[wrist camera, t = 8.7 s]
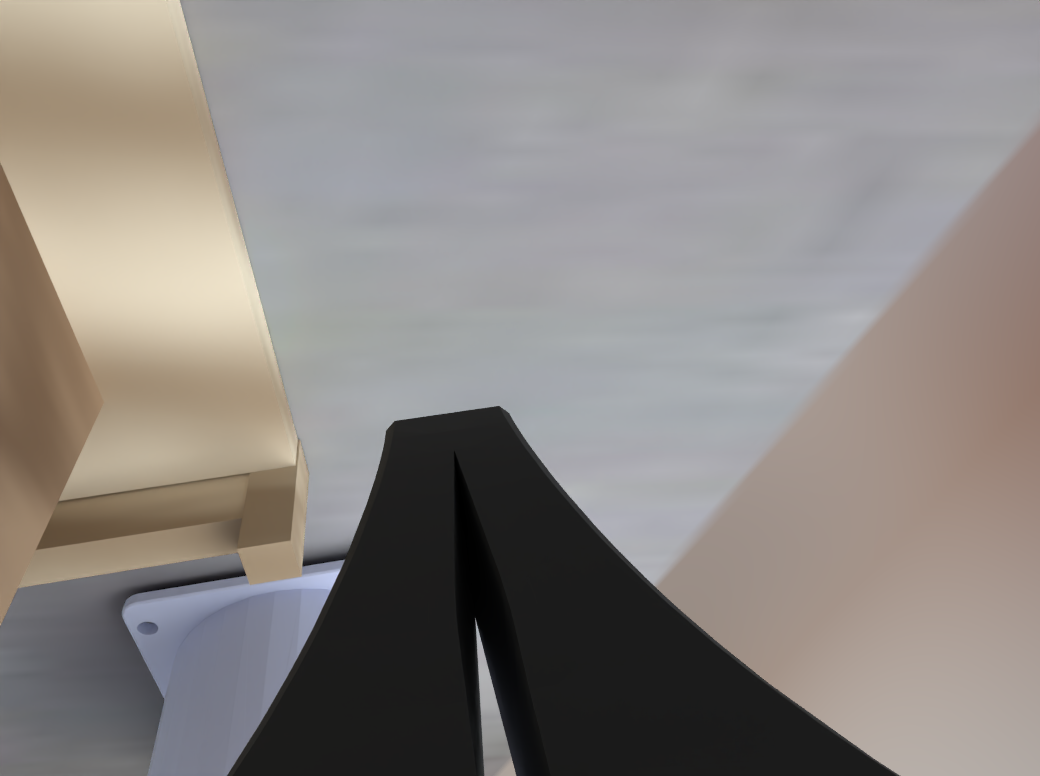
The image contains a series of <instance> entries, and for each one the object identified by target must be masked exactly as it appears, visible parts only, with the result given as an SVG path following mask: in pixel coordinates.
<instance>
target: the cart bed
mask: <svg viewBox="0 0 1040 776" xmlns="http://www.w3.org/2000/svg"><path fill="white" fill-rule="evenodd" d="M0 163H1V165H2V167H3V170H4V172H5V174H6V177H7V179H8V181H9V184H10V186H11V188H12V191H13V193H14V195H15V198H16V200H17V202H18V204H19V207H20V209H21V211H22V214H23V216H24V218H25V221H26V223H27V225H28V228H29V230H30V232H31V235H32V237H33V239H34V241H35V244H36V246H37V248H38V251H39V253H40V255H41V258H42V260H43V262H44V265H45V267H46V269H47V272H48V274H49V276H50V279H51V281H52V283H53V285H54V288H55V290H56V292H57V295H58V297H59V299H60V302H61V304H62V306H63V309H64V311H65V313H66V316H67V318H68V320H69V322H70V325H71V327H72V329H73V332H74V334H75V336H76V339H77V341H78V343H79V346H80V348H81V350H82V353H83V355H84V357H85V359H86V362H87V364H88V366H89V369H90V371H91V373H92V376H93V378H94V380H95V383H96V385H97V387H98V390H99V392H100V394H101V396H102V399H103V401H104V404H103V406H102V408H101V410H100V412H99V414H98V417H97V419H96V421H95V423H94V425H93V427H92V430H91V432H90V434H89V436H88V438H87V440H86V442H85V445H84V447H83V449H82V451H81V453H80V455H79V458H78V460H77V462H76V464H75V466H74V468H73V471H72V473H71V475H70V477H69V479H68V481H67V483H66V486H65V488H64V490H63V492H62V494H61V496H60V499H59V501H58V503H57V505H56V507H55V509H54V511H53V514H52V516H51V518H50V520H49V522H48V524H47V527H46V529H45V531H44V533H43V535H42V537H41V539H40V542H39V544H38V546H37V548H36V550H35V552H34V555H33V557H32V559H31V561H30V563H29V565H28V567H27V570H26V572H25V574H24V576H23V578H22V580H21V583H20V585H19V587H18V588H21V587H28V586H34V585H40V584H46V583H53V582H59V581H65V580H71V579H77V578H84V577H90V576H96V575H102V574H109V573H115V572H121V571H127V570H134V569H140V568H146V567H152V566H159V565H165V564H171V563H177V562H184V561H190V560H196V559H202V558H209V557H215V556H221V555H227V554H233V553H239V556H240V559H241V562H242V565H243V567H244V570H245V573H246V576H247V578H248V581H249V584H250V585H253V584H259V583H265V582H271V581H277V580H283V579H290V578H296V577H302V564H303V550H304V536H305V523H306V509H307V496H308V482H309V472H308V468H307V464H306V460H305V457H304V453H303V449H302V445H301V442H300V440H298V439H297V435H296V431H295V427H294V424H293V420H292V416H291V413H290V409H289V405H288V401H287V398H286V394H285V390H284V387H283V383H282V379H281V375H280V372H279V368H278V364H277V361H276V357H275V353H274V349H273V346H272V342H271V338H270V335H269V331H268V327H267V323H266V320H265V316H264V312H263V309H262V305H261V301H260V297H259V294H258V290H257V286H256V282H255V279H254V275H253V271H252V268H251V264H250V260H249V256H248V253H247V249H246V245H245V242H244V238H243V234H242V230H241V227H240V223H239V219H238V216H237V212H236V208H235V204H234V201H233V197H232V193H231V190H230V186H229V182H228V178H227V175H226V171H225V167H224V164H223V160H222V156H221V152H220V149H219V145H218V141H217V138H216V134H215V130H214V126H213V123H212V119H211V115H210V112H209V108H208V104H207V100H206V97H205V93H204V89H203V86H202V82H201V78H200V74H199V71H198V67H197V63H196V60H195V56H194V52H193V48H192V45H191V41H190V37H189V34H188V30H187V26H186V22H185V19H184V15H183V11H182V8H181V4H180V0H0Z"/></svg>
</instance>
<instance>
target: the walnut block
mask: <svg viewBox="0 0 1040 776" xmlns="http://www.w3.org/2000/svg"><path fill="white" fill-rule="evenodd" d="M103 404H104V401H103V399H102V396H101V394H100V392H99V390H98V387H97V385H96V383H95V380H94V378H93V376H92V373H91V371H90V369H89V366H88V364H87V362H86V359H85V357H84V355H83V353H82V350H81V348H80V346H79V343H78V341H77V339H76V336H75V334H74V332H73V329H72V327H71V325H70V322H69V320H68V318H67V316H66V313H65V311H64V309H63V306H62V304H61V302H60V299H59V297H58V295H57V292H56V290H55V288H54V285H53V283H52V281H51V279H50V276H49V274H48V272H47V269H46V267H45V265H44V262H43V260H42V258H41V255H40V253H39V251H38V248H37V246H36V244H35V241H34V239H33V237H32V235H31V232H30V230H29V228H28V225H27V223H26V221H25V218H24V216H23V214H22V211H21V209H20V207H19V204H18V202H17V200H16V198H15V195H14V193H13V191H12V188H11V186H10V184H9V181H8V179H7V177H6V174H5V172H4V170H3V167H2V165H1V163H0V626H1V624H2V621H3V619H4V617H5V615H6V613H7V611H8V608H9V606H10V604H11V602H12V600H13V598H14V595H15V593H16V591H17V589H18V587H19V585H20V583H21V580H22V578H23V576H24V574H25V572H26V570H27V567H28V565H29V563H30V561H31V559H32V557H33V555H34V552H35V550H36V548H37V546H38V544H39V542H40V539H41V537H42V535H43V533H44V531H45V529H46V527H47V524H48V522H49V520H50V518H51V516H52V514H53V511H54V509H55V507H56V505H57V503H58V501H59V499H60V496H61V494H62V492H63V490H64V488H65V486H66V483H67V481H68V479H69V477H70V475H71V473H72V471H73V468H74V466H75V464H76V462H77V460H78V458H79V455H80V453H81V451H82V449H83V447H84V445H85V442H86V440H87V438H88V436H89V434H90V432H91V430H92V427H93V425H94V423H95V421H96V419H97V417H98V414H99V412H100V410H101V408H102V406H103Z"/></svg>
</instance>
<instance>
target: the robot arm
mask: <svg viewBox="0 0 1040 776" xmlns="http://www.w3.org/2000/svg"><path fill="white" fill-rule="evenodd" d="M122 618H123V620H124V622H125V624H126V626H127V628H128V630H129V632H130V633H131V635H132V637H133V639H134V641H135V643H136V645H137V647H138V649H139V651H140V653H141V655H142V657H143V659H144V661H145V663H146V665H147V666H148V668H149V670H150V672H151V674H152V676H153V678H154V680H155V682H156V684H157V686H158V688H159V690H160V692H161V694H162V696H163V698H164V705H163V709H162V714H161V718H160V723H159V727H158V731H157V736H156V740H155V745H154V749H153V753H152V758H151V762H150V767H149V771H148V776H484V764H483V746H482V728H481V710H480V693H479V675H478V657H477V640H476V622H477V626H478V629H479V633H480V637H481V641H482V645H483V649H484V653H485V657H486V660H487V664H488V668H489V672H490V676H491V680H492V684H493V687H494V691H495V695H496V699H497V703H498V707H499V710H500V714H501V718H502V722H503V726H504V730H505V733H506V737H507V741H508V745H509V749H510V753H511V757H512V760H513V764H514V768H515V772H516V776H899V775H898V774H896V773H895V772H893V771H892V770H890V769H889V768H887V767H886V766H884V765H882V764H881V763H879V762H878V761H876V760H875V759H873V758H872V757H871V756H869V755H867V754H866V753H865V752H864V751H862V750H861V749H859V748H858V747H857V746H855V745H854V744H852V743H851V742H849V741H848V740H847V739H845V738H844V737H843V736H841V735H840V734H838V733H837V732H836V731H834V730H833V729H831V728H830V727H828V726H827V725H826V724H825V723H823V722H822V721H820V720H819V719H818V718H816V717H815V716H813V715H812V714H811V713H809V712H807V711H806V710H805V709H804V708H802V707H801V706H799V705H798V704H797V703H795V702H793V701H792V700H791V699H790V698H788V697H787V696H785V695H784V694H783V693H781V692H780V691H778V690H777V689H775V688H774V687H773V686H772V685H770V684H769V683H768V682H766V681H765V680H764V679H762V678H761V677H760V676H759V675H757V674H756V673H755V672H754V671H752V670H751V669H750V668H749V667H748V666H746V665H745V664H744V663H742V662H741V661H740V660H739V659H738V658H736V657H735V656H734V655H733V654H731V653H730V652H729V651H728V650H726V649H725V648H724V647H723V646H721V645H720V644H719V643H718V642H716V641H715V640H714V639H713V638H712V637H710V635H708V634H707V633H706V632H705V631H703V629H701V628H700V627H699V626H698V625H697V624H696V623H694V622H693V621H692V620H691V619H690V618H688V617H687V616H686V615H685V614H684V613H683V612H682V611H680V610H679V609H678V608H677V607H676V606H675V605H674V604H673V603H672V602H671V601H670V600H668V599H667V598H666V597H665V596H664V595H663V594H662V593H661V592H660V591H659V590H658V589H657V588H656V587H655V586H654V585H653V584H651V583H650V582H649V581H648V580H647V579H646V578H645V577H644V576H643V575H642V574H641V573H640V572H639V571H638V570H637V569H636V568H635V567H634V566H633V565H632V564H631V563H630V562H629V561H628V560H627V559H626V558H625V557H624V556H623V555H622V554H621V553H620V552H619V551H618V550H617V549H616V548H615V547H614V546H613V545H612V543H611V542H610V541H609V540H608V539H607V538H606V537H605V536H604V535H603V534H602V533H601V532H600V531H599V530H598V528H597V527H596V526H595V525H594V524H593V523H592V522H591V521H590V519H589V518H588V517H587V516H586V515H585V514H584V513H583V511H582V510H581V509H580V508H579V507H578V506H577V505H576V503H575V502H574V501H573V500H572V499H571V498H570V497H569V495H568V494H567V493H566V492H565V491H564V490H563V488H562V487H561V486H560V485H559V483H558V482H557V481H556V480H555V479H554V477H553V476H552V475H551V474H550V472H549V471H548V470H547V468H546V467H545V466H544V464H543V463H542V462H541V460H540V459H539V458H538V457H537V455H536V454H535V452H534V451H533V450H532V448H531V447H530V446H529V444H528V443H527V441H526V440H525V438H524V437H523V435H522V434H521V432H520V431H519V429H518V428H517V426H516V425H515V423H514V421H513V420H512V418H511V416H510V414H509V413H508V412H507V411H505V410H504V409H503V408H501V407H500V406H496V407H489V408H482V409H475V410H468V411H461V412H454V413H447V414H440V415H434V416H427V417H420V418H413V419H406V420H399V421H394V422H393V424H392V425H391V426H390V427H389V428H388V429H387V430H386V436H385V443H384V448H383V452H382V456H381V460H380V464H379V468H378V471H377V474H376V478H375V481H374V484H373V487H372V490H371V493H370V496H369V499H368V502H367V505H366V508H365V510H364V513H363V515H362V518H361V520H360V523H359V526H358V528H357V531H356V533H355V536H354V538H353V541H352V544H351V546H350V549H349V551H348V554H347V556H346V558H345V560H340V561H334V562H328V563H321V564H315V565H309V566H303V567H302V577H296V578H290V579H283V580H277V581H271V582H265V583H259V584H253V585H250V584H249V581H248V578H247V576H242V577H236V578H230V579H224V580H218V581H211V582H205V583H199V584H193V585H187V586H181V587H175V588H169V589H163V590H157V591H150V592H144V593H138V594H135V595H132V596H130V597H129V598H128V599H126V602H125V604H124V607H123V610H122ZM475 618H476V622H475ZM147 622H152V623H147Z"/></svg>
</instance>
